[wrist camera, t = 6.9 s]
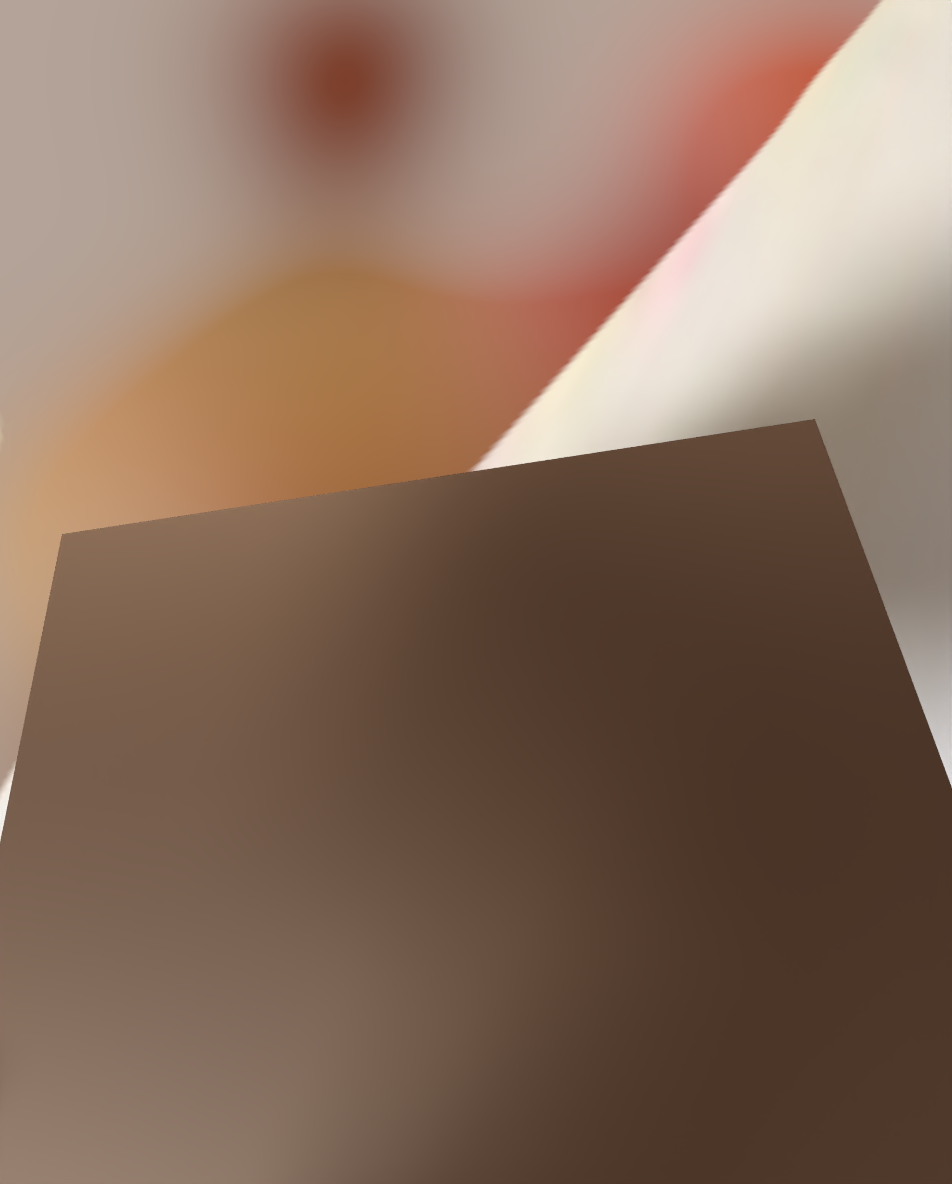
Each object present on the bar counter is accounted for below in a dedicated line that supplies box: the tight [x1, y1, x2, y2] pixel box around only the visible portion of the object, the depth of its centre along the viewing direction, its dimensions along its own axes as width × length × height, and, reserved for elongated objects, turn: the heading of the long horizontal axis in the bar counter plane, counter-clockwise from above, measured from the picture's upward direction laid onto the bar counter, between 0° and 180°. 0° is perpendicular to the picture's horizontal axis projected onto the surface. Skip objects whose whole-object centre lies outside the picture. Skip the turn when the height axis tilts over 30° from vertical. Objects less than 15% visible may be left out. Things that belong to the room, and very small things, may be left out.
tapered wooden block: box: [0, 419, 952, 1184], centre depth 9 cm, size 5×5×12 cm
